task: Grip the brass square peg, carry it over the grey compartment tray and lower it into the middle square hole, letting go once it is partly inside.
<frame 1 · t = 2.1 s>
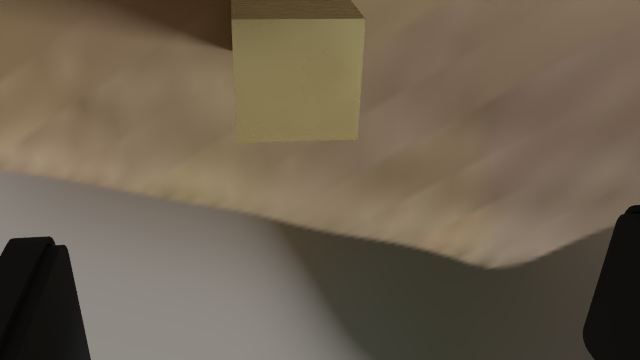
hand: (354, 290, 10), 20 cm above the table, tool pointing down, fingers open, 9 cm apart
peg: (275, 7, 28), on the table
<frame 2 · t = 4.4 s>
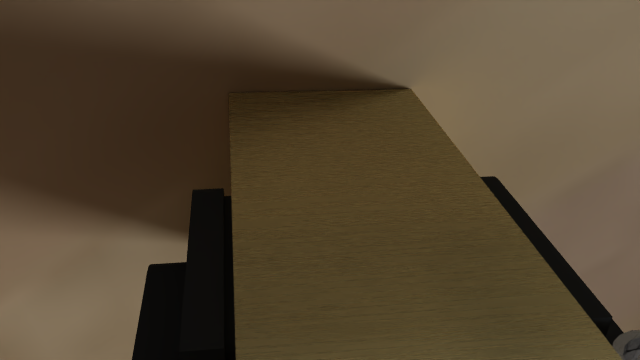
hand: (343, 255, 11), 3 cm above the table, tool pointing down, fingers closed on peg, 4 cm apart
peg: (319, 172, 14), on the table, touching gripper
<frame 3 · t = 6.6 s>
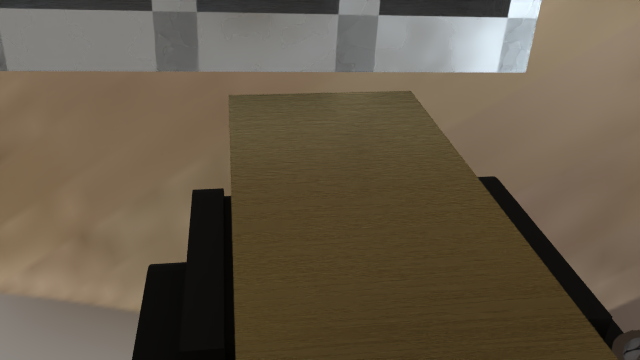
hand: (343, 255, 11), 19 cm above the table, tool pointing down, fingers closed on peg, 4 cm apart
peg: (319, 174, 14), point 15 cm above the table, touching gripper
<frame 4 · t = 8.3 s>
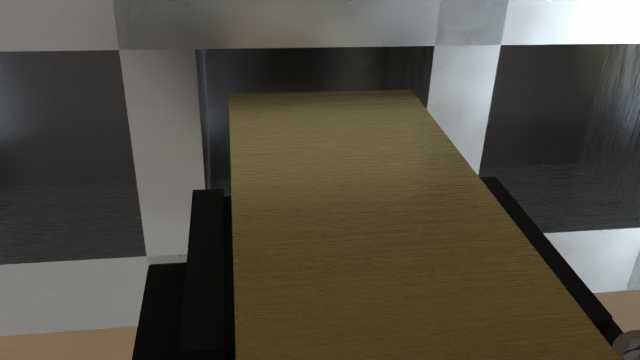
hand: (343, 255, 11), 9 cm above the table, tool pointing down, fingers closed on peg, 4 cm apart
peg: (319, 173, 14), point 5 cm above the table, touching gripper
grey compartment tray: (296, 91, 19), on the table
when the fingers open (5 cm above the table, at t = 9.3 s): peg drops 1 cm, resting on grey compartment tray.
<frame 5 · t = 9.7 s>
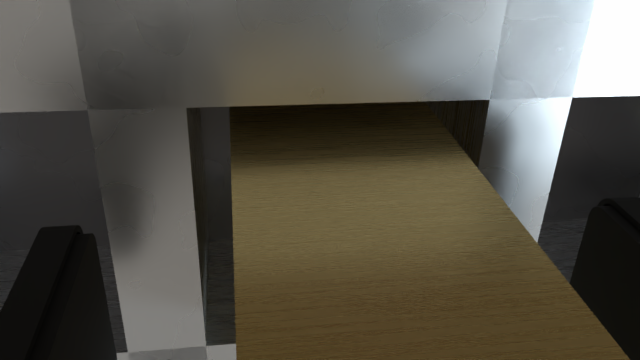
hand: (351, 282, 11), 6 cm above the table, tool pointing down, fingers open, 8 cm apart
peg: (311, 142, 15), resting on grey compartment tray
grey compartment tray: (308, 137, 16), on the table
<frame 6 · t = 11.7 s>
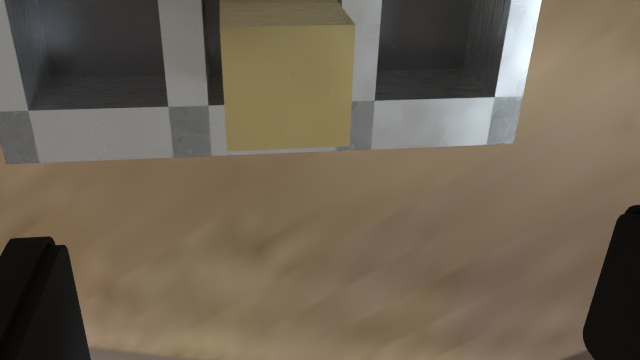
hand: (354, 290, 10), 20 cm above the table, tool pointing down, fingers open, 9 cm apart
peg: (266, 13, 27), resting on grey compartment tray
grey compartment tray: (265, 12, 28), on the table
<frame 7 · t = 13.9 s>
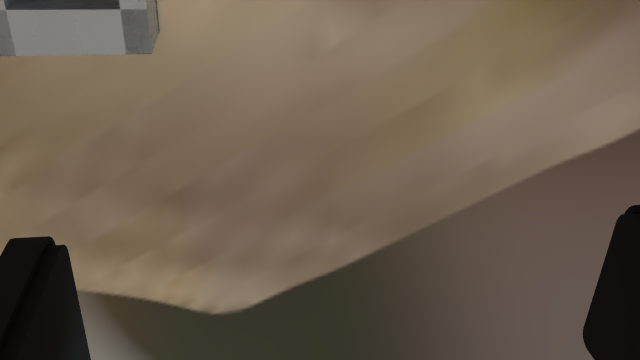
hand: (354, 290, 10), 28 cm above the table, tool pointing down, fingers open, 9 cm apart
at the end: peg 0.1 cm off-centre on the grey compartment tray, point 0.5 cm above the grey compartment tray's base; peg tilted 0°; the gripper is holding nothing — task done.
